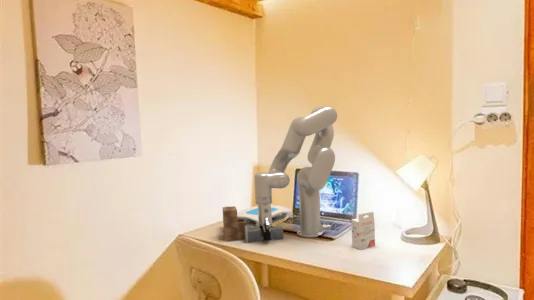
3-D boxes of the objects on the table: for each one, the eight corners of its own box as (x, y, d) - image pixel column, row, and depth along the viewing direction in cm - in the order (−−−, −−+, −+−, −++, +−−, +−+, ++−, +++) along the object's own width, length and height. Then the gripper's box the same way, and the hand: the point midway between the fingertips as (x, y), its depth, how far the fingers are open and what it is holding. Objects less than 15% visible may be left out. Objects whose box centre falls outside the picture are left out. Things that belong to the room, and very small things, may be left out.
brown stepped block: (241, 226, 197) (240, 199, 195) (247, 239, 175) (245, 209, 174) (222, 228, 195) (220, 201, 194) (225, 241, 173) (223, 211, 172)
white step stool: (230, 225, 200) (229, 214, 199) (263, 213, 222) (262, 203, 222) (261, 231, 187) (261, 219, 187) (293, 218, 209) (292, 207, 209)
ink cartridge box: (367, 242, 164) (366, 209, 163) (375, 246, 159) (374, 211, 158) (351, 246, 160) (350, 212, 159) (359, 250, 155) (358, 214, 154)
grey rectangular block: (281, 237, 177) (281, 222, 176) (283, 239, 173) (282, 224, 173) (244, 240, 174) (244, 225, 173) (245, 243, 170) (245, 227, 170)
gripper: (275, 203, 164) (277, 242, 166) (268, 195, 181) (269, 231, 183) (258, 204, 163) (260, 244, 164) (252, 196, 180) (254, 232, 181)
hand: (265, 237), depth 173 cm, fingers open, 9 cm apart
